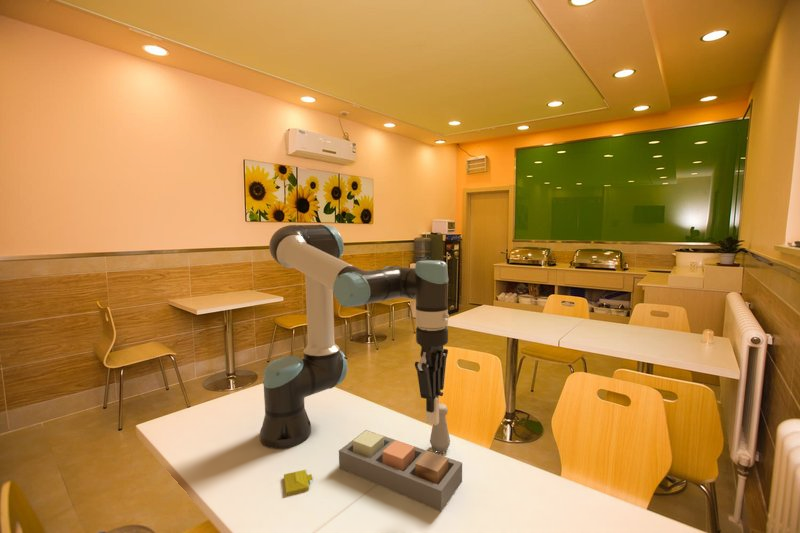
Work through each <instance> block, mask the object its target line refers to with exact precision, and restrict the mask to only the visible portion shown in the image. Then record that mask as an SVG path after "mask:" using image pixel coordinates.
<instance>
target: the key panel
mask: <svg viewBox="0 0 800 533" xmlns="http://www.w3.org/2000/svg"><path fill="white" fill-rule="evenodd" d="M366 430H367V429H366ZM366 430H364V431H362V433H364V432H365V431H366ZM367 431H370V432H373V433H376V432H374V431H371V430H367ZM362 433H360V434H359V435H357V436H356V437H355V438H353V439H352V440H351V441H350V442H348V443H347V444H346V445H344V446H343V447H341V448H340V449H339V450H338V468H339V469H340V470H343V471H344V472H347V473H349V474H351V475H354V476H357V477H359V478H361V479H364V480H366V481H368V482H370V483H372V484H375V485H377V486H380V487H382V488H384V489H387V490H389V491H392V492H394V493H396V494H399V495H401V496H403V497H406V498H408V499H411V500H413V501H415V502H417V503H420V504H422V505H425V506H427V507H429V508H431V509H433V510H436V511H439V512H442V511H443V510H444V509H445V507H446V505H447V504H448V503H449V501H450V500H451V498H452V497H453V496H454V494H455V493H456V491H457V489H459V487H460V485H461V483H462V482H463V462H461V461H459V460H455V459H452V458H449V457H447V456H444V455H441V454H438V453H436V452H435V453H434V452H432V451H430V450H427V449H423V448H420V447H418V446H415V445H412V444H410V443H405V442H402V441H399V440H397V439H395V438H391V437H388V436H385V435H382V434H380V433H376V434H379V435H381V436H384V447H383V448H382V449H381V450H380V451H378V452H377V453H376V454H375V455H374V456H373V457H372V458H368V457H365V456H363V455H360V454H357V453H355V452H353V440H354V439H356V438H357V437H358V436H360V435H361V434H362ZM395 440H396V441H399V442H402V443H405V444H408V445H411V446H414V447H415V459H414V460H413V461H412V462H411V463H410V464H409V465H408V466H407V467H406V468H405V469H404V470H403V471H401V470H399V469H396V468H394V467H391V466H388V465H386V464H383V455H382V451H384V450H385V449H386V448H387V447H388V446H389V445H390V444H391V443H393V442H394V441H395ZM426 451H428V452H431V453H434V454H437V455H440V456H443V457H446V458H448V472H447V473H446V474H445V476H444V477H443V478H442V480H441V481H440V482H439V483H438V485H437V484H435V483H432V482H430V481H427V480H425V479H422V478H419V477H417V476H415V463H416V462H417V461H418V460H419V459H420V458H421V457H422V456H423V455H424V454H425V452H426Z"/></svg>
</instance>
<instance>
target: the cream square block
mask: <svg viewBox="0 0 800 533" xmlns="http://www.w3.org/2000/svg"><path fill="white" fill-rule="evenodd" d="M364 431H365V430H364ZM364 431H363V432H364ZM370 431H371V430H368V431H367V429H366V431H365V432H364V433H363V432H362V434H361V433H360V434H361V435H360V434H359V435H360V436H359V435H357V436H358V437H357V436H356V437H357V438H356V437H355V438H356V439H355V438H353V439H354V440H353V439H352V440H353V452H355V453H357V454H360V455H363V456H365V457H368V458H372V457H373V456H374V455H375V454H376V453H377V452H378V451H380V450H381V449H382V448H383V447H384V436H385V435H382V434H380V433H377V434H376V432H374V431H371V432H370ZM373 432H374V433H373ZM379 434H380V435H379ZM381 435H382V436H381Z"/></svg>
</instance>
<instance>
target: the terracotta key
mask: <svg viewBox="0 0 800 533" xmlns="http://www.w3.org/2000/svg"><path fill="white" fill-rule="evenodd" d="M394 440H395V441H394V442H393V443H391V444H390V445H389V446H388V447H387V448H386V449H385V450H384V451H382V455H383V464H386V465H388V466H391V467H394V468H396V469H399V470H401V471H403V470H404V469H405V468H406V467H407V466H408V465H409V464H410V463H411V462H412V461H413V460H414V459H415V447H416V446H415V445H412V444H409V443H406V444H405V442H403V443H402V441H400V442H399V440H397V439H394ZM396 440H397V441H396ZM408 444H409V445H408ZM411 445H412V446H411ZM414 446H415V447H414Z"/></svg>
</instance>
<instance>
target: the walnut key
mask: <svg viewBox="0 0 800 533" xmlns="http://www.w3.org/2000/svg"><path fill="white" fill-rule="evenodd" d="M428 451H429V450H427V451H426V452H425V454H424V455H423V456H422V457H421V458H420V459H419V460H418V461H417V462H416V463H415V476H417V477H419V478H422V479H425V480H427V481H430V482H432V483H435V484H437V485H438V483H439V482H440V481H441V480H442V478H443V477H444V476H445V474H446V473H447V472H448V458H449V457H447V456H444V455H441V454H438V453H435V454H434V452H432V451H429V452H428ZM431 452H432V453H431ZM437 454H438V455H437ZM440 455H441V456H440ZM443 456H444V457H443ZM446 457H447V458H446Z"/></svg>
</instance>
